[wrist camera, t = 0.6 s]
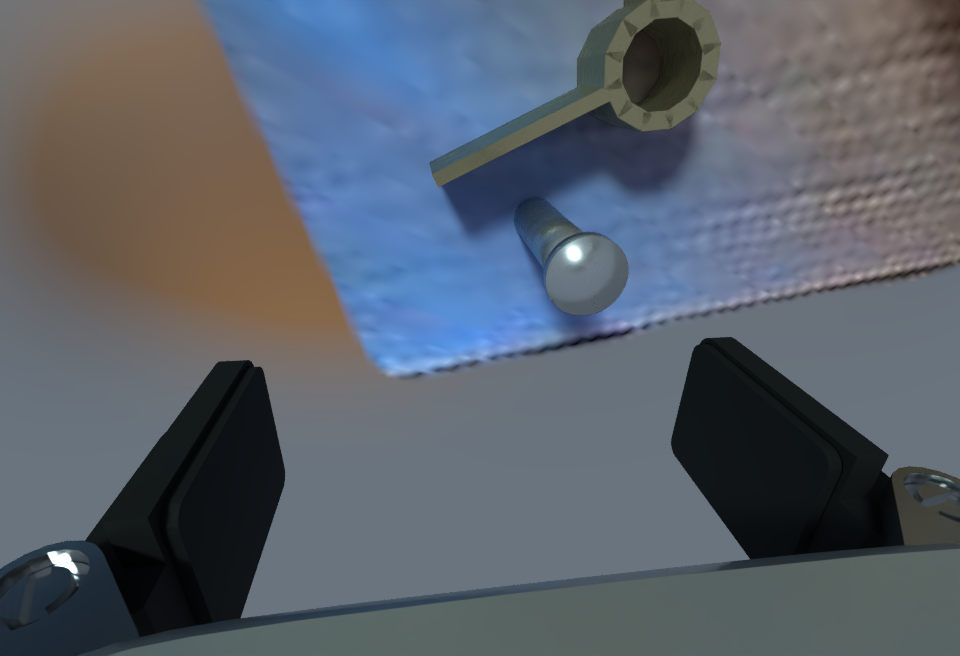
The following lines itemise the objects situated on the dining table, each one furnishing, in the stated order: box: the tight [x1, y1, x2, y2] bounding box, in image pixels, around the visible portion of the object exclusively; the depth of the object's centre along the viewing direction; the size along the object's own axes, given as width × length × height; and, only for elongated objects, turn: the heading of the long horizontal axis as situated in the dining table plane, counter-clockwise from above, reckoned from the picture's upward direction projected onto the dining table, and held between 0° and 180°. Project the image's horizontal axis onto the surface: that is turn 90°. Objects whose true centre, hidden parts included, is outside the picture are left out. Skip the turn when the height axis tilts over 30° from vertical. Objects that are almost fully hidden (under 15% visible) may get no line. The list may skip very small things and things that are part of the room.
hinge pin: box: [514, 198, 628, 316], centre depth 29 cm, size 4×4×12 cm
